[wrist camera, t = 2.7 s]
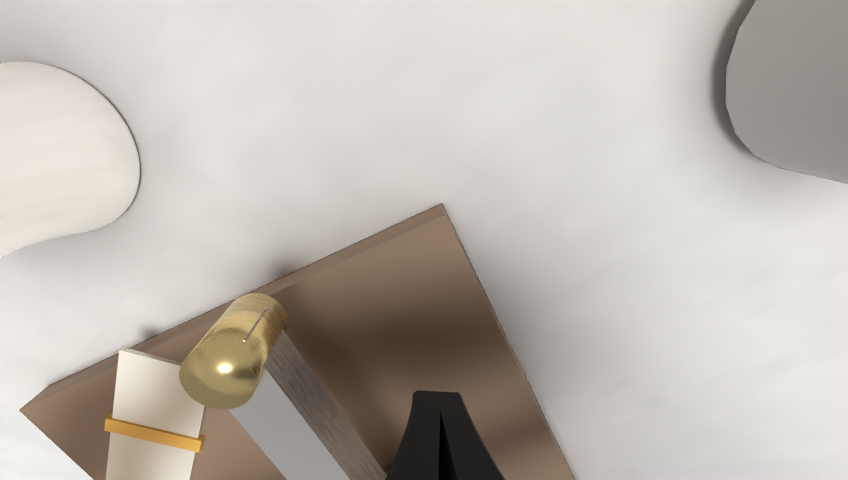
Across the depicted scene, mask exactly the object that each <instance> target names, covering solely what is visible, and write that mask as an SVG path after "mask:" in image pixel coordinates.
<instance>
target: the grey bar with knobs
mask: <svg viewBox="0 0 848 480" xmlns="http://www.w3.org/2000/svg"><path fill="white" fill-rule="evenodd" d="M288 325H289V319H288V315H287V312H286V310H285V309H284V307H283V306H282V305H281V304H280V303H279V302H278V301H277V300H275V299H274V298H272V297H270V296H267V295H264V294H259V293H250V294H245V295H242V296H240V297H238V298H237V299H236V300H235V301H234V302H233V303H232V304H231V305H230V306H229V308H228V309H227V310H226V311H225V312H224V313H223V315H222V316H221V317H220V318H219V319H218V321H217V322H216V323H215V324H214V325H213V326H212V328H211V329H210V330H209V331H208V332H207V333H206V335H205V336H204V337H203V338H202V339H201V341H200V342H199V343H198V344H197V345H196V346H195V348H194V349H193V350H192V351H191V352H190V354H189V355H188V356H187V357H186V358H185V359H184V361H183V362H182V364H181V366H180V370H179V379H180V382H181V385H182V387H183V389H184V390H185V391H186V393H187V394H188V395H189V396H190V397H191V398H192V399H194V400H195V401H197V402H198V403H200V404H202V405H204V406H207V407H210V408H214V409H221V410H226V409H228V410H229V411H230V412H231V414H232V415H233V416H234V417H235V418H236V420H237V421H238V422H239V423H240V424H241V425H242V427H243V428H244V429H245V430H246V431H247V433H248V434H249V435H250V436H251V437H252V439H253V440H254V441H255V442H256V443H257V445H258V446H259V447H260V448H261V449H262V451H263V452H264V453H265V454H266V455H267V457H268V458H269V459H270V460H271V461H272V462H273V464H274V465H275V466H276V467H277V468H278V470H279V471H280V472H281V473H282V474H283V476H284V477H285V478H286V479H287V480H385V479H386V477H387V475H388V472H389V470H390V469H389V470H387V471H386V472H384V471H383V469H382V468H381V467H380V465H379V464H378V462H377V461H376V460H375V458H374V457H373V455H372V454H371V453H370V451H369V450H368V448H367V447H366V446H365V444H364V443H363V441H362V440H361V438H360V437H359V436H358V434H357V433H356V431H355V430H354V429H353V427H352V426H351V424H350V423H349V422H348V420H347V419H346V417H345V416H344V415H343V413H342V412H341V410H340V409H339V408H338V406H337V405H336V403H335V402H334V400H333V399H332V398H331V396H330V395H329V393H328V392H327V391H326V389H325V388H324V386H323V385H322V384H321V382H320V381H319V379H318V378H317V377H316V375H315V374H314V372H313V371H312V369H311V368H310V367H309V365H308V364H307V362H306V361H305V360H304V358H303V357H302V355H301V354H300V353H299V351H298V350H297V348H296V347H295V346H294V344H293V343H292V341H291V340H290V339H289V337H288V336H287V334H286V332H287V329H288Z"/></svg>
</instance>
